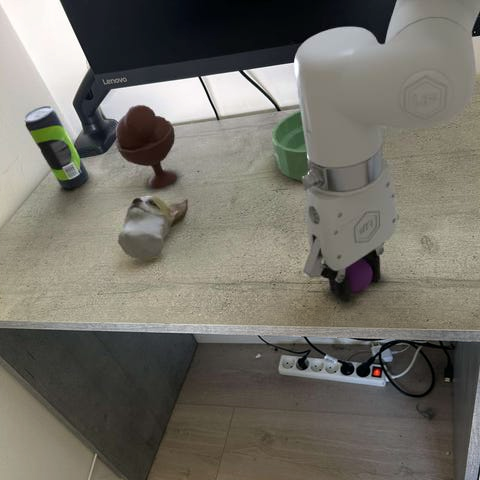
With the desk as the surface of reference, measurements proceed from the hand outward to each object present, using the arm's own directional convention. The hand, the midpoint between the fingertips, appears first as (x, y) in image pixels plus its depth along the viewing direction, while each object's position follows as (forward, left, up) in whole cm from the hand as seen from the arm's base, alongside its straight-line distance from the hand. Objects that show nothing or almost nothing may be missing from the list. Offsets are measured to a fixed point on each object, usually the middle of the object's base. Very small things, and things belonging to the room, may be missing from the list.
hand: (355, 284), depth 64 cm
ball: (0, 0, +2) cm, 2 cm away
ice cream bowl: (+6, -48, -1) cm, 48 cm away
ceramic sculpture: (+15, -32, -1) cm, 36 cm away
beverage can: (+19, -65, -1) cm, 68 cm away
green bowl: (-17, -28, 0) cm, 33 cm away
